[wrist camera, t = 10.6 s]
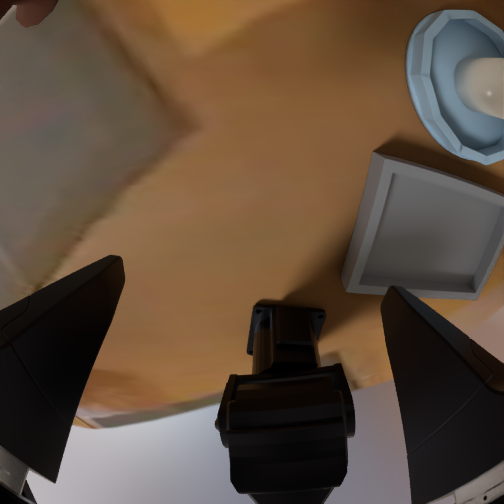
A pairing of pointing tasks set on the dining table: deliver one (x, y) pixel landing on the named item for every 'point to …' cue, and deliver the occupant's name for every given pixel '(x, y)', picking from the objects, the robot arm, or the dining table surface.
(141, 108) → the dining table surface
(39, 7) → the ice cream bowl
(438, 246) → the parts tray
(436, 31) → the blue ring
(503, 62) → the white marshmallow
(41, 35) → the dining table surface
